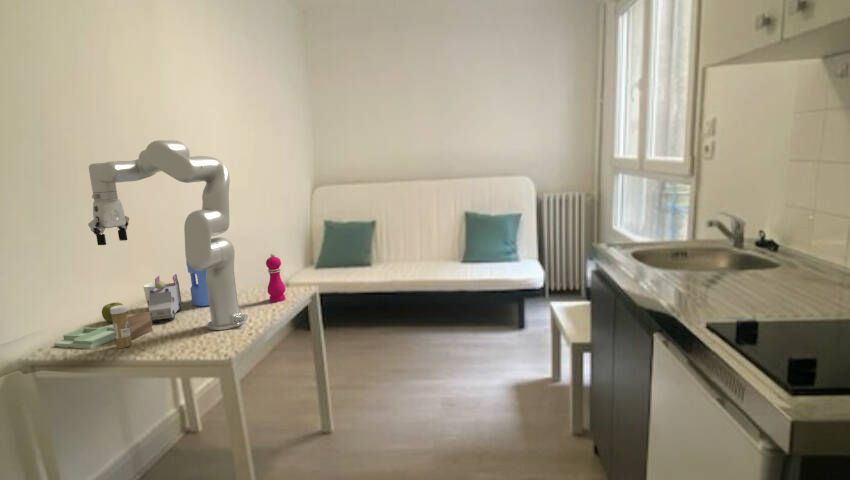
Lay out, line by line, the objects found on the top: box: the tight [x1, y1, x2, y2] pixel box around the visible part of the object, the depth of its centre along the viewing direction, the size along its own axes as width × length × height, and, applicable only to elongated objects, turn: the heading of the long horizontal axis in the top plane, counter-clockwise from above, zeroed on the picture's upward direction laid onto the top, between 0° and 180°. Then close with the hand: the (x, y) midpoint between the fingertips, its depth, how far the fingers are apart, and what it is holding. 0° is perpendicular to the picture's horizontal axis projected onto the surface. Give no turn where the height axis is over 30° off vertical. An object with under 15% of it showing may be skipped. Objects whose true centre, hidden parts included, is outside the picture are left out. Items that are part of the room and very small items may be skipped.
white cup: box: [142, 281, 166, 310], centre depth 208 cm, size 8×8×10 cm
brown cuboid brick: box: [127, 311, 153, 342], centre depth 173 cm, size 4×10×7 cm, turn 165°
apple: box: [101, 302, 124, 324], centre depth 192 cm, size 8×8×7 cm
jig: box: [53, 325, 116, 350], centre depth 173 cm, size 15×15×3 cm
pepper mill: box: [265, 252, 286, 303], centre depth 208 cm, size 7×7×20 cm
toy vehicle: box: [146, 273, 183, 323], centre depth 194 cm, size 9×20×15 cm, turn 15°
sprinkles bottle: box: [110, 304, 133, 349], centre depth 163 cm, size 5×5×13 cm
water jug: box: [185, 259, 210, 307], centre depth 211 cm, size 16×16×28 cm
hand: (113, 242), depth 187 cm, fingers open, 9 cm apart
